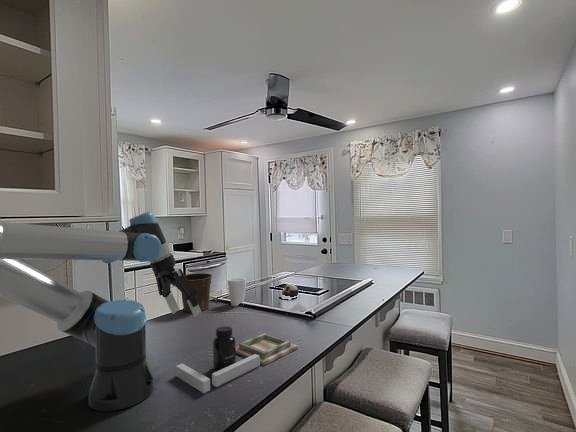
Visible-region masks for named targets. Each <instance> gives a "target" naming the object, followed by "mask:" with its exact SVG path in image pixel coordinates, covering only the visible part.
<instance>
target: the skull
mask: <svg viewBox="0 0 576 432" xmlns="http://www.w3.org/2000/svg"><path fill="white" fill-rule="evenodd" d="M281 294H282V295H285V296H290V297H294V296H297V295H299V289H298V287H297V286H296V285H295V284H294V283H288V284H286V285H285V286H284V288H283V289H282V290H281V293H280V295H281Z"/></svg>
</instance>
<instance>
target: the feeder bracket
mask: <svg viewBox="0 0 576 432" xmlns="http://www.w3.org/2000/svg"><path fill="white" fill-rule="evenodd" d="M260 366H261V365H260V356H259V355H256V354H254V355H252V356H250V357H248V358H246V357H244V358H243V359H241V360H238V361H236V363H234V364H232V365H230V366H228V367H226V368H223V369H221V370H219V371H217V372H215V371H214V372H213V373H211V378H209V377H207V376H206V375H204V374H202V373H200V372H198V371H196V370H195V369H193V368H191V367H190V366H187V365H186V364H184V363H180V364H178V365H175V377H177V378H179V379H180V380H181V381H183V382H185V383H186V384H188V385H189V386H191V387H193V388H194V389H196V390H198V391H199V392H201V393H202V394H206V393H208V392H210V391H211V385H212V386H214V387H215V388H218V387H220V386H222V385H224V384H225V383H227V382H229V381H231V380H234V379H236V378H238V377H240V376H242V375H244V374H246V373H248V372H250V371H252V370H254V369H256V368H258V367H260Z"/></svg>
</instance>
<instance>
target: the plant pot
mask: <svg viewBox="0 0 576 432" xmlns="http://www.w3.org/2000/svg"><path fill="white" fill-rule="evenodd" d="M184 275H185V277H186V278H187V279H188V281H189V282H190V283H191V284H192V286H193V287H194V288H195V290H196V291H197V294H196V295H195V298H196V301H197V303H198V305H199V307H200V309H201V312H203V311H206V310H208V309H209V308H210V293H211V292H210V291H211V283H212V278H213V275H212V274H211V273H188V274H184ZM180 293H181V300H182V307H183V309H182V310H183V312H186V313H192V311H191V309H190V307H189V305H188V303H187V301H186V297H185V296H184V295H183V293H182V292H181V291H180Z"/></svg>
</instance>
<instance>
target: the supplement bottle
mask: <svg viewBox="0 0 576 432" xmlns="http://www.w3.org/2000/svg"><path fill="white" fill-rule="evenodd" d="M215 336H216V337H214V339H213V340H212V369H213V371H214V373H215V372H217V371H219V370H221V369H223V368H226V367H228V366H230V365H232V364H234V363H237V361H236V359H237V355H236V354H237V353H236V345H237V344H236V341H237V340H236V338H235V337H234V336H233V328H232V326H228V325H226V326H218V327H217V328H216V329H215Z"/></svg>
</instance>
